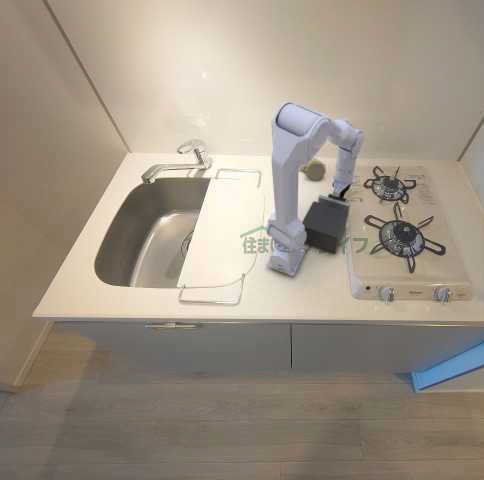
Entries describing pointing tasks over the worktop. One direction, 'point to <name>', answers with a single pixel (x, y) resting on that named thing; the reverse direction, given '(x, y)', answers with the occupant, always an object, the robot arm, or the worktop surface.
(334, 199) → the drawer
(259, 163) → the worktop surface
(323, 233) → the cabinet
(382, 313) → the worktop surface
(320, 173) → the mug
